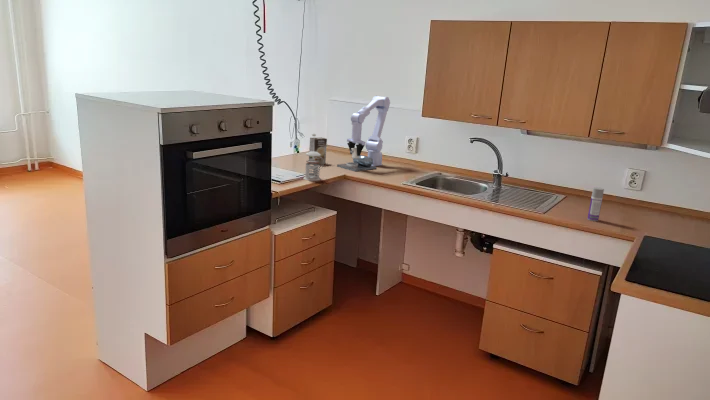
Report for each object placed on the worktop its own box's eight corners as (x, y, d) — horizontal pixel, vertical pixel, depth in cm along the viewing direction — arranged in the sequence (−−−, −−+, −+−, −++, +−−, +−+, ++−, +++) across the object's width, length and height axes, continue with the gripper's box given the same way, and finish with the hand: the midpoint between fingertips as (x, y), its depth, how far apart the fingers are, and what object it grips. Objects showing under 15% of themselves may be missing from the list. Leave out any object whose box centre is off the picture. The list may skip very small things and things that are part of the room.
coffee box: (314, 164, 328) (315, 139, 324) (308, 162, 332) (309, 137, 328) (325, 163, 333) (327, 138, 329) (320, 161, 338) (321, 137, 334)
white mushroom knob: (355, 157, 326) (355, 147, 325) (361, 158, 322) (362, 148, 321) (347, 158, 321) (347, 148, 320) (353, 159, 317) (353, 149, 316)
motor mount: (357, 164, 339) (358, 153, 337) (376, 168, 327) (377, 157, 325) (336, 166, 327) (337, 155, 325) (355, 171, 315) (356, 159, 313)
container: (589, 217, 246) (594, 186, 242) (599, 219, 243) (605, 188, 239) (586, 219, 242) (591, 188, 238) (596, 221, 239) (602, 190, 235)
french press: (299, 177, 290) (301, 132, 283) (317, 175, 297) (319, 132, 290) (309, 181, 282) (311, 135, 276) (327, 179, 289) (329, 134, 283)
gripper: (343, 131, 321) (342, 153, 325) (360, 135, 311) (358, 157, 315) (352, 131, 326) (350, 152, 329) (368, 134, 316) (366, 156, 319)
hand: (355, 154), depth 322 cm, fingers closed on white mushroom knob, 5 cm apart
